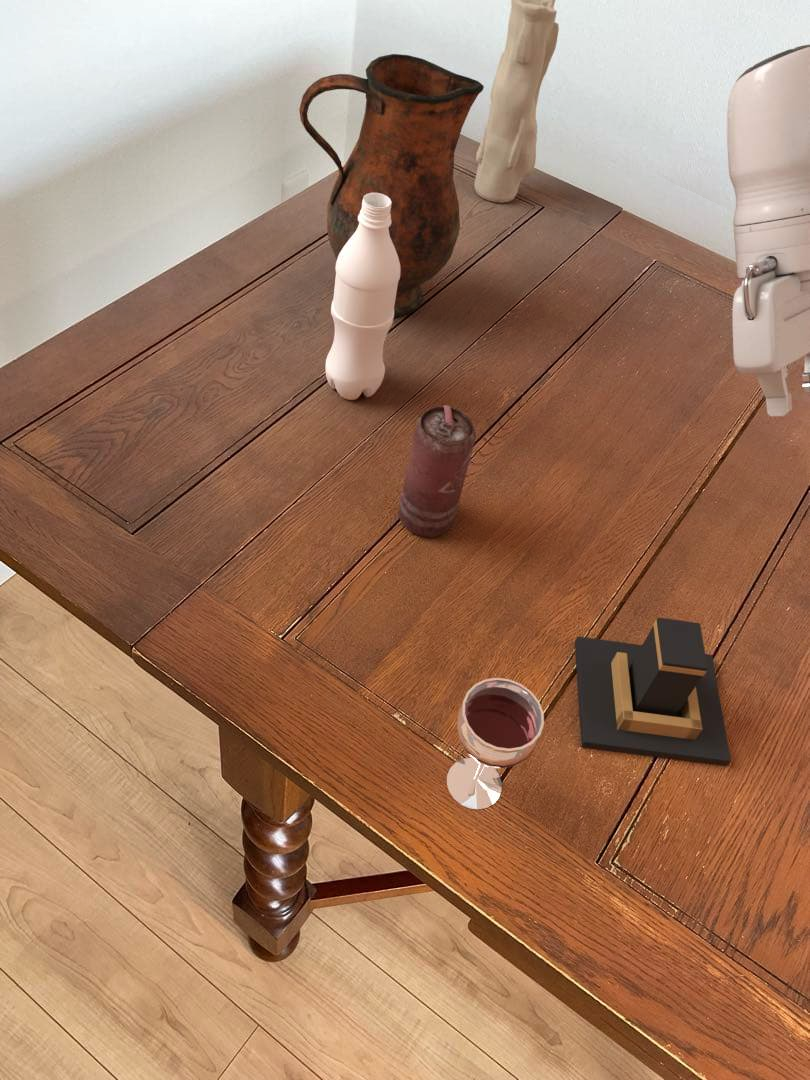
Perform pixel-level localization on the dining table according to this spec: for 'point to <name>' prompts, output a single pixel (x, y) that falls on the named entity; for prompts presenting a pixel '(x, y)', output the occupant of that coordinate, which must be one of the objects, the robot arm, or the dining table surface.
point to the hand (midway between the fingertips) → (797, 402)
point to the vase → (516, 101)
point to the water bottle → (363, 302)
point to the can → (436, 470)
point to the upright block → (667, 667)
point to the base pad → (629, 731)
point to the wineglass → (493, 738)
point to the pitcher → (402, 162)
